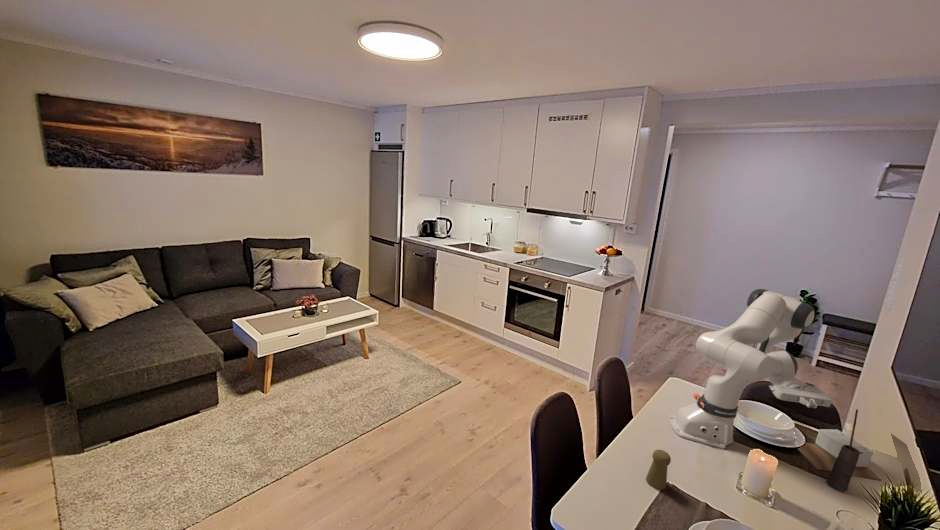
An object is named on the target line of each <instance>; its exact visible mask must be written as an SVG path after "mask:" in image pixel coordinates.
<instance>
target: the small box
mask: <svg viewBox="0 0 940 530" xmlns="http://www.w3.org/2000/svg"><path fill="white" fill-rule="evenodd" d="M850 440H851V436H849V435H847V434H845V433H843V432H842V431H841V430H839V429H831V428H829V429H828V428H827V429H826V428H825V429H824V428H819V430H818V433H817V436H816V440H815V442H814V444H817V445H819V446H820V447H822V448H823V449H824V450H826V451H827V452H829V453H830V454H831V455H833V456H834V457H836V458H838V456H839V453H840V451H841V448H842V447H843V445H850ZM852 447H854V448H856V449H857V450H858V451H859V452H862V453H863V454H859V458H858V461H857V464H856V467H868V468H869V465H870V463H871V460H872V458H873V454H874V452H873V451H872V450H870V449H868V448H867V447H866V446H864V445H862V444H861V443H859V442H857V441H856V440H854V439H853V442H852Z"/></svg>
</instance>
